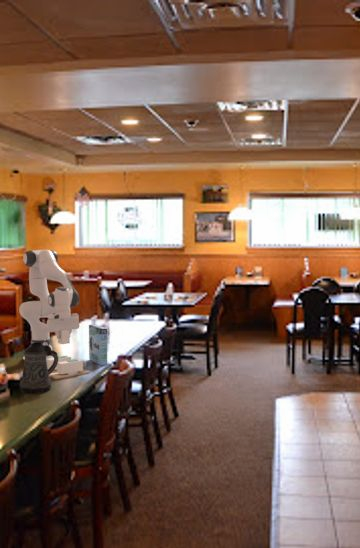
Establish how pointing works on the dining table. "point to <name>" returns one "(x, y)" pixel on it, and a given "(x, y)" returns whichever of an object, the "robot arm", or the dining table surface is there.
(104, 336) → the blue cardboard box
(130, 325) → the dining table surface
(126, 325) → the dining table surface
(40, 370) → the beer stein
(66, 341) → the module block
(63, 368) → the rail board
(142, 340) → the dining table surface
